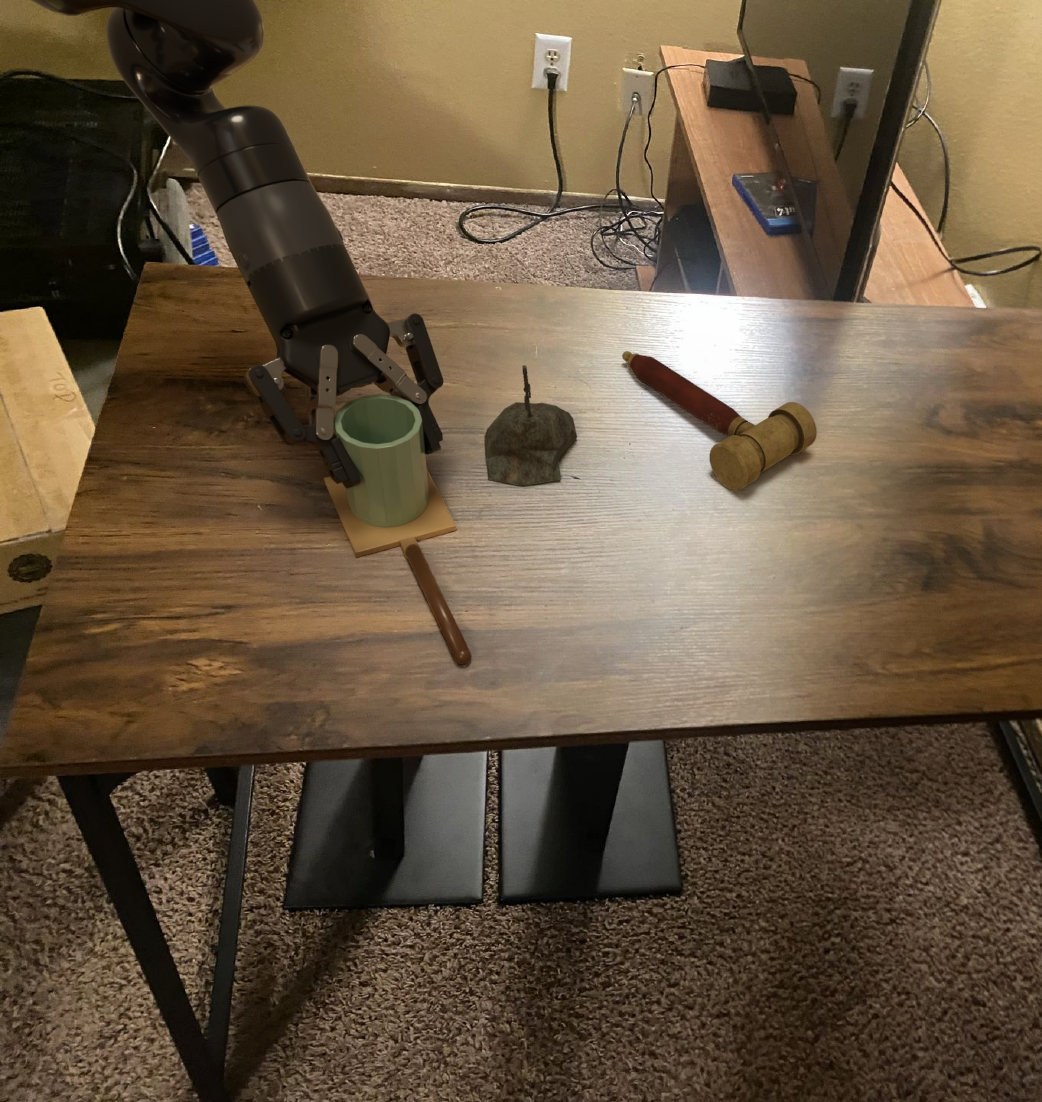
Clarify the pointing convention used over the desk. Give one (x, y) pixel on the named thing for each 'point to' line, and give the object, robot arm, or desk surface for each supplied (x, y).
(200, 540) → the desk surface
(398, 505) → the pot
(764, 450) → the gavel
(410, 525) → the spatula
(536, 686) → the desk surface
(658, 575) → the desk surface
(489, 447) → the sword in stone
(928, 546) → the desk surface
